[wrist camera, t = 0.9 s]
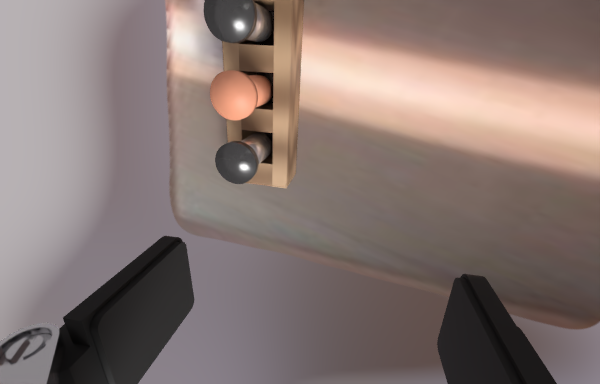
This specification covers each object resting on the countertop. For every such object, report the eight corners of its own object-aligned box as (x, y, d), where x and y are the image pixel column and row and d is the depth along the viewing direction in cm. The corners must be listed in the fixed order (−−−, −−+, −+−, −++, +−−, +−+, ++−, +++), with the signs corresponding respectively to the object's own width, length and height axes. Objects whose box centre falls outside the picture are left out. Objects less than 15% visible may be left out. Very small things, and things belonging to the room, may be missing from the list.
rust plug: (240, 68, 29) (208, 69, 23) (277, 70, 29) (254, 71, 23) (241, 108, 31) (212, 118, 25) (277, 111, 30) (255, 122, 24)
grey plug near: (238, -1, 27) (201, -20, 21) (278, 0, 26) (252, -20, 20) (239, 46, 29) (206, 41, 23) (278, 48, 28) (253, 43, 22)
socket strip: (239, -21, 30) (217, -36, 25) (304, -21, 29) (293, -36, 24) (245, 167, 39) (230, 180, 34) (295, 173, 37) (286, 188, 33)
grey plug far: (242, 126, 32) (213, 140, 26) (276, 129, 31) (255, 145, 25) (243, 160, 34) (216, 181, 28) (276, 164, 33) (256, 186, 27)
